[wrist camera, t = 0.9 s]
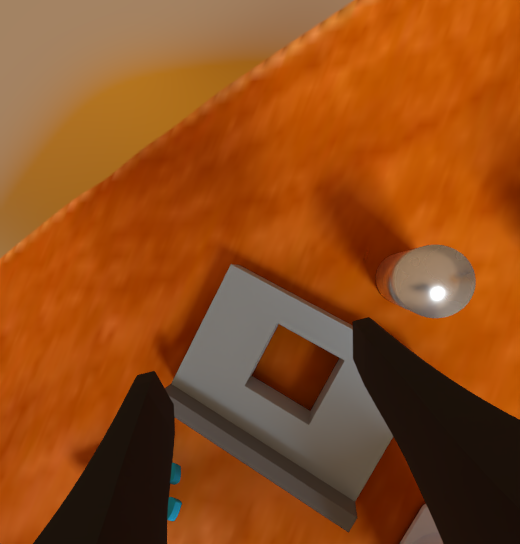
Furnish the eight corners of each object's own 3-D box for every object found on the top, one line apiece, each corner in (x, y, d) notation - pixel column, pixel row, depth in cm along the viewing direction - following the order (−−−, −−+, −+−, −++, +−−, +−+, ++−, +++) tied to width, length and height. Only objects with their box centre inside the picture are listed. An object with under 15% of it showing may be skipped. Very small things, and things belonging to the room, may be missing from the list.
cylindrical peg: (441, 267, 23) (490, 265, 17) (414, 314, 24) (451, 331, 17) (391, 243, 24) (417, 232, 17) (366, 289, 25) (382, 296, 18)
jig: (420, 361, 24) (439, 379, 20) (344, 492, 25) (348, 532, 21) (239, 265, 27) (224, 263, 23) (178, 385, 28) (155, 404, 24)
